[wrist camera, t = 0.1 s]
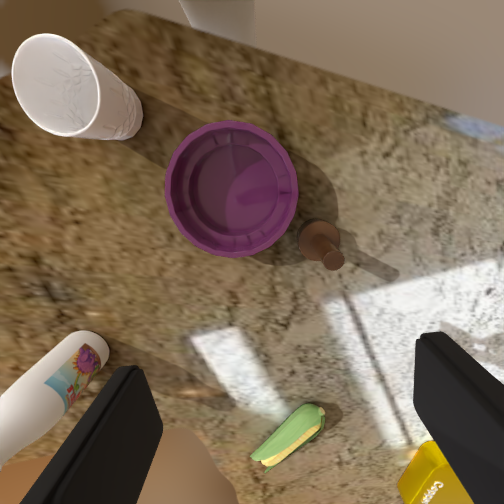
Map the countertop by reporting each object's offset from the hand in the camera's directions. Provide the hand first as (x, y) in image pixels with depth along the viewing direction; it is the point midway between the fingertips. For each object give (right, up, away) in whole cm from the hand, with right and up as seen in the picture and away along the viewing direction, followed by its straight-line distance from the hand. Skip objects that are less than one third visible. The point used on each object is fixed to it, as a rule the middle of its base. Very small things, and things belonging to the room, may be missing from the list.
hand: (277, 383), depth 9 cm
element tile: (+37, -39, +42) cm, 68 cm away
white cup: (-18, +22, +23) cm, 37 cm away
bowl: (-3, +13, +26) cm, 29 cm away
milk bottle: (-29, -12, +35) cm, 47 cm away
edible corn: (+5, -29, +40) cm, 49 cm away
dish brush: (+8, +7, +27) cm, 29 cm away
